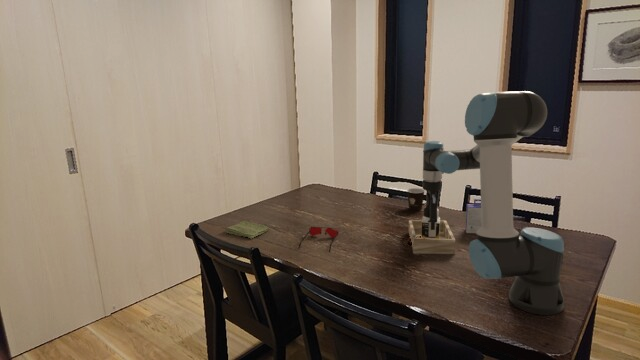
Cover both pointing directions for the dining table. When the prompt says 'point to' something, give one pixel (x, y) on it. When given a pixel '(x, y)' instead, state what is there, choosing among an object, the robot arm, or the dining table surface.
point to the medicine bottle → (426, 224)
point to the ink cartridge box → (473, 217)
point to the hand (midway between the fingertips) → (430, 232)
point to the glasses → (318, 230)
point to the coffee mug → (415, 199)
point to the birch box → (431, 239)
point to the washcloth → (247, 229)
